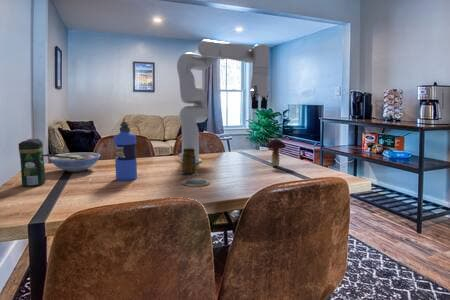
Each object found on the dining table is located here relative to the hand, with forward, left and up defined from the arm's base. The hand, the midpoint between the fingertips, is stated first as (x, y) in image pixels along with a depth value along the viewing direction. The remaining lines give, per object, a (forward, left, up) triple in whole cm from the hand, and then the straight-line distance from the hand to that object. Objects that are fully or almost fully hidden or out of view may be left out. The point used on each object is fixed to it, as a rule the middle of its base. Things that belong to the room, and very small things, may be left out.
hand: (259, 108), depth 155 cm
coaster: (-11, -35, -31) cm, 48 cm away
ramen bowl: (-74, -51, -31) cm, 95 cm away
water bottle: (-41, -47, -31) cm, 69 cm away
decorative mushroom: (0, +18, -31) cm, 36 cm away
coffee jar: (-63, -76, -31) cm, 103 cm away
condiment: (-25, -23, -31) cm, 46 cm away
